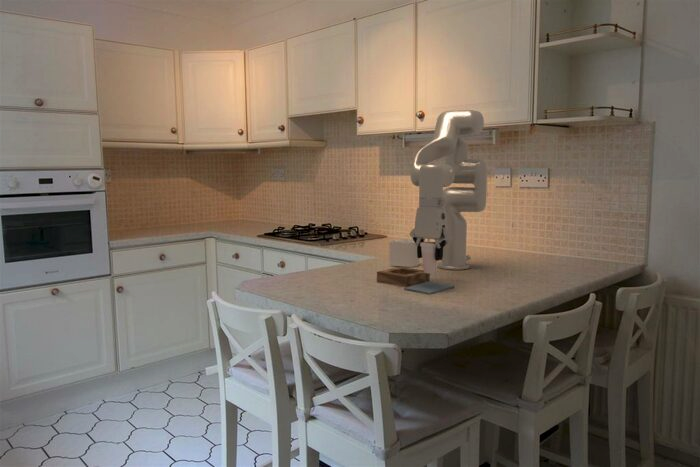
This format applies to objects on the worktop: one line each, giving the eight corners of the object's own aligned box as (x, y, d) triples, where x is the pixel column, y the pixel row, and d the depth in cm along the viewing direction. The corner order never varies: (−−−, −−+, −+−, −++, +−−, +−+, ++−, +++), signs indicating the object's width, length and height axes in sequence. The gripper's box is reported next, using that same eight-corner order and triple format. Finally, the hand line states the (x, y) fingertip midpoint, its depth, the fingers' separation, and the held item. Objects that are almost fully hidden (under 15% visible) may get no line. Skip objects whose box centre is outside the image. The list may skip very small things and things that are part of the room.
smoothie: (416, 271, 177) (416, 229, 175) (433, 270, 179) (434, 228, 177) (425, 274, 171) (426, 231, 169) (443, 273, 173) (444, 230, 171)
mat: (429, 283, 184) (429, 281, 184) (454, 287, 177) (454, 285, 177) (403, 289, 174) (404, 287, 174) (429, 294, 167) (429, 292, 167)
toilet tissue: (422, 263, 222) (422, 239, 220) (413, 268, 211) (413, 243, 210) (398, 261, 226) (398, 238, 225) (387, 266, 215) (388, 241, 214)
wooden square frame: (400, 276, 196) (400, 266, 195) (429, 281, 187) (429, 271, 186) (376, 281, 186) (376, 271, 186) (406, 287, 177) (406, 276, 177)
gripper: (460, 204, 169) (459, 260, 171) (415, 201, 181) (415, 254, 183) (447, 205, 164) (446, 263, 166) (402, 202, 175) (401, 257, 178)
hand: (429, 258), depth 174 cm, fingers closed on smoothie, 6 cm apart
